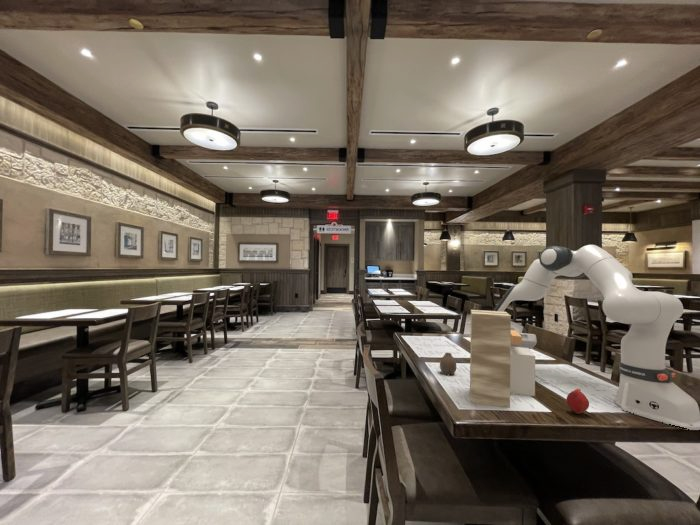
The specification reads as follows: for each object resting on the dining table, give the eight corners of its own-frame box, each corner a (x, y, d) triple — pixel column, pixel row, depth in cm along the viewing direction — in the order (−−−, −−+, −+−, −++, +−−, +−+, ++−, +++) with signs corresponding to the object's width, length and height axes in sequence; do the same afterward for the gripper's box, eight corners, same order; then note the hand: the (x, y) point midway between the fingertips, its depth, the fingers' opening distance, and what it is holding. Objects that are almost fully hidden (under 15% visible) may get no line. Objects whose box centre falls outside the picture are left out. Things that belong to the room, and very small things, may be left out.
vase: (458, 376, 137) (458, 355, 137) (442, 376, 137) (442, 355, 137) (453, 371, 144) (453, 351, 144) (437, 370, 144) (438, 351, 144)
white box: (494, 380, 132) (495, 345, 133) (527, 384, 129) (528, 347, 129) (498, 391, 120) (498, 352, 121) (534, 396, 116) (535, 355, 117)
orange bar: (505, 334, 136) (505, 327, 136) (513, 335, 135) (513, 328, 135) (512, 344, 118) (512, 335, 118) (521, 344, 117) (521, 336, 117)
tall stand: (469, 389, 122) (470, 309, 122) (505, 394, 118) (505, 311, 118) (470, 401, 110) (472, 313, 111) (509, 407, 106) (510, 315, 107)
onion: (579, 418, 99) (579, 392, 99) (562, 410, 105) (562, 385, 105) (593, 416, 101) (593, 390, 101) (575, 408, 106) (575, 384, 106)
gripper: (481, 334, 148) (483, 322, 137) (531, 338, 141) (538, 326, 130) (481, 347, 145) (483, 337, 134) (533, 352, 138) (540, 341, 127)
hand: (511, 332), depth 132 cm, fingers closed on orange bar, 3 cm apart
